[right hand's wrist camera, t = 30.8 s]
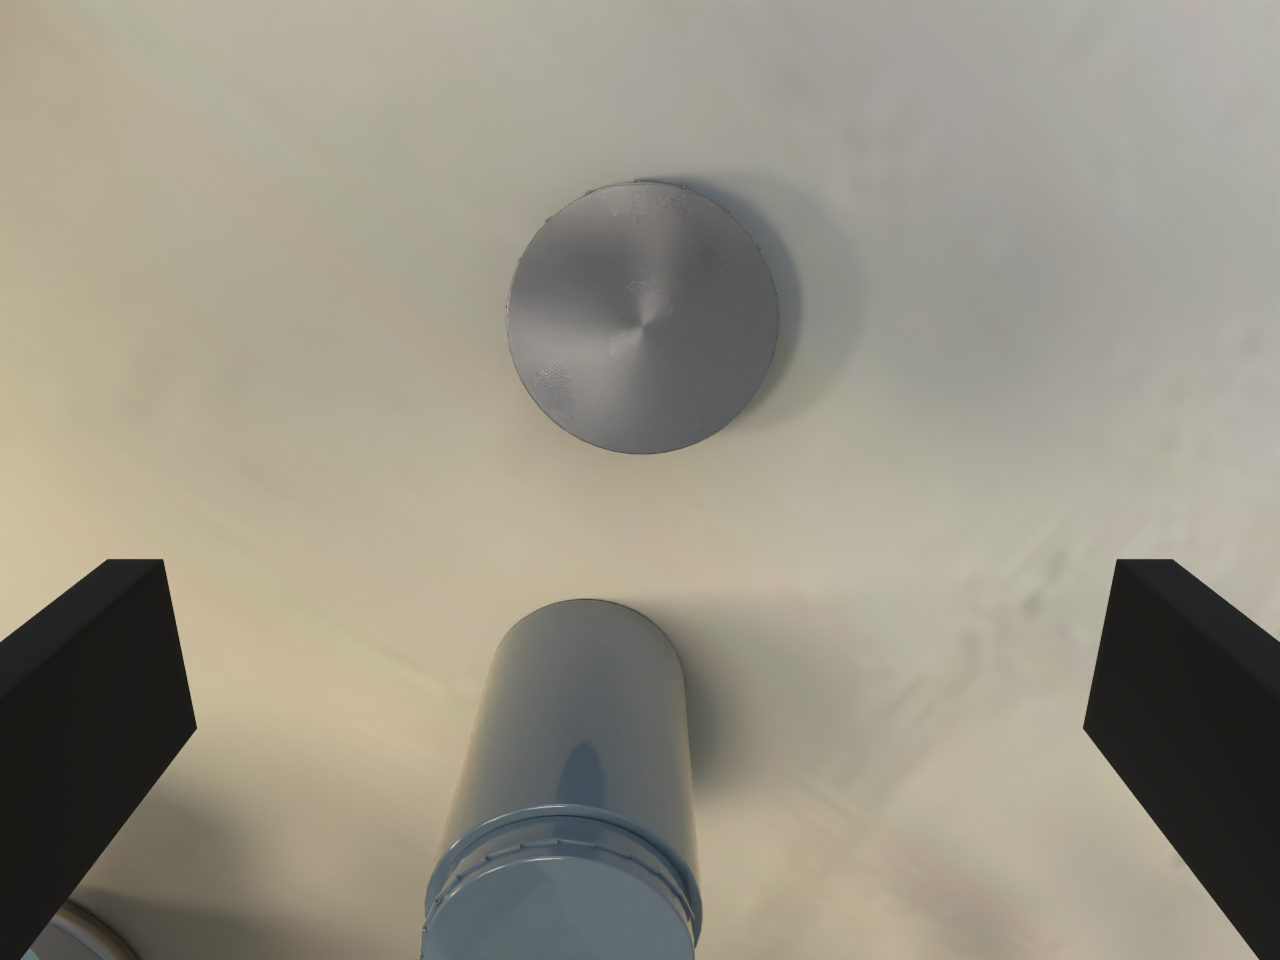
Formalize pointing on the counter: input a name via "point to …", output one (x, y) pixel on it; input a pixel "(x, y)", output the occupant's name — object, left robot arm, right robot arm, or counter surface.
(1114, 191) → the counter surface
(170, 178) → the counter surface
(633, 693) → the jar
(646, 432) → the lid
